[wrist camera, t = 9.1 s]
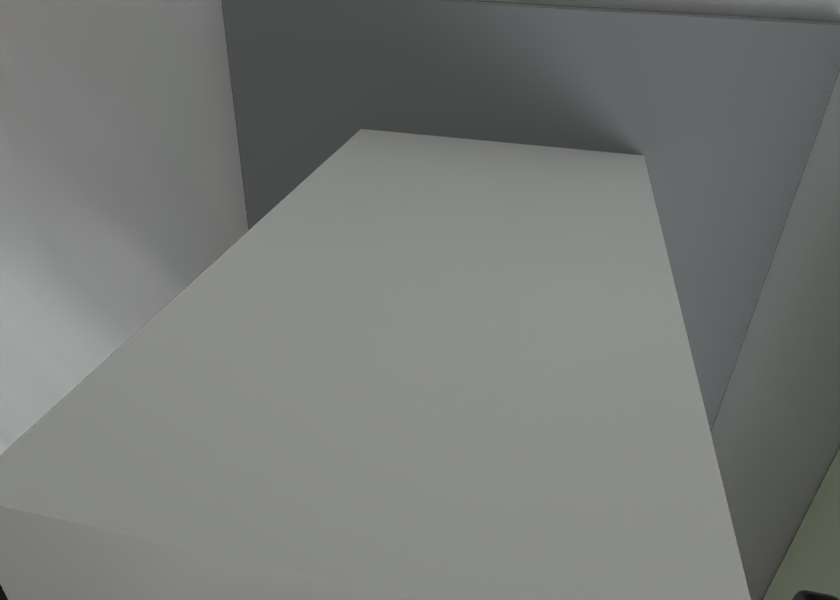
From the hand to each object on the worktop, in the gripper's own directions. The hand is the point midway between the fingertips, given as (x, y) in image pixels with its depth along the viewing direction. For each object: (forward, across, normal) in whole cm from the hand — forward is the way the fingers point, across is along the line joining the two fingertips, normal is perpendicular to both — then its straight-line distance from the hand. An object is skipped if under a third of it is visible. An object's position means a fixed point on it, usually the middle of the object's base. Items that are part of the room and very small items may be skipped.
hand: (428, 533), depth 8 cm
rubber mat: (+5, 0, 0) cm, 5 cm away
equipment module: (+4, 0, 0) cm, 4 cm away
